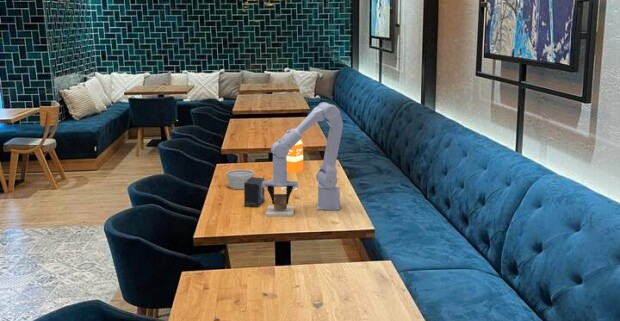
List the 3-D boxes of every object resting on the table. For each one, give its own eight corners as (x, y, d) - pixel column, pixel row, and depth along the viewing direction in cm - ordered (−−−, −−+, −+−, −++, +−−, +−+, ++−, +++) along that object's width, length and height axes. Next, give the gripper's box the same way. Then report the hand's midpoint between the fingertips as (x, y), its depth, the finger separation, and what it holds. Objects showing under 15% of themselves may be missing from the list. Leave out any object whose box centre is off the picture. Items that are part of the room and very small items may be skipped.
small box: (258, 207, 251) (258, 183, 248) (243, 206, 252) (243, 182, 250) (265, 200, 261) (265, 177, 258) (251, 199, 262) (250, 176, 260)
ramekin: (257, 183, 289) (257, 169, 288) (250, 190, 276) (250, 176, 275) (231, 182, 291) (231, 168, 290) (223, 189, 279) (222, 175, 277)
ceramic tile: (294, 208, 249) (294, 205, 249) (293, 216, 239) (293, 213, 239) (268, 208, 250) (268, 205, 250) (265, 216, 239) (265, 213, 239)
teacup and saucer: (296, 186, 285) (296, 178, 284) (301, 190, 278) (301, 182, 277) (278, 188, 282) (278, 179, 281) (283, 192, 275) (283, 183, 274)
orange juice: (295, 173, 310) (294, 135, 306) (281, 170, 315) (280, 133, 310) (303, 170, 316) (303, 133, 312) (289, 168, 321) (289, 131, 317)
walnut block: (286, 205, 246) (286, 194, 245) (286, 209, 241) (286, 197, 240) (274, 205, 246) (274, 194, 245) (273, 209, 241) (273, 197, 240)
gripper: (261, 173, 237) (261, 206, 240) (297, 174, 236) (297, 206, 239) (262, 169, 244) (263, 201, 247) (298, 169, 243) (298, 201, 246)
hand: (280, 203), depth 243 cm, fingers closed on walnut block, 5 cm apart
